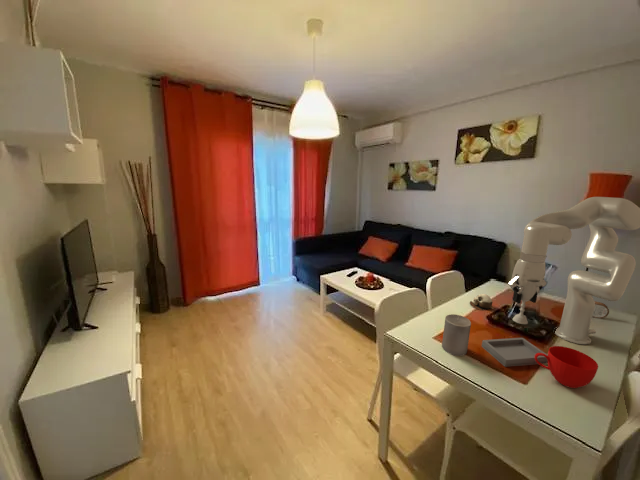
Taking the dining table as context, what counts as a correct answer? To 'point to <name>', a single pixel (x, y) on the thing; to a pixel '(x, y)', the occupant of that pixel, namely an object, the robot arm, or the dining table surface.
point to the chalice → (526, 296)
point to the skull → (482, 302)
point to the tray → (513, 351)
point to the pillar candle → (456, 334)
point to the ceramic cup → (569, 366)
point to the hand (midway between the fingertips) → (523, 301)
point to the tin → (600, 310)
